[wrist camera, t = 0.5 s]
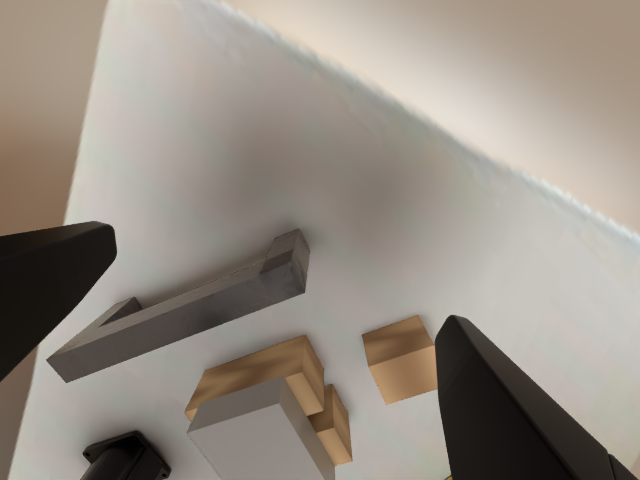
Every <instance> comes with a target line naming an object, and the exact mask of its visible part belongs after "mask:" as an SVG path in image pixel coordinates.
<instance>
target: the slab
mask: <svg viewBox="0 0 640 480" xmlns="http://www.w3.org/2000/svg"><path fill="white" fill-rule="evenodd" d="M187 434H188V436H189V437H190V438H191V440H192V441H193V442H194V444H195V445H196V446H197V448H198V449H199V450H200V452H201V453H202V454H203V456H204V457H205V458H206V460H207V461H208V462H209V464H210V465H211V466H212V468H213V469H214V470H215V471H216V473H217V474H218V475H219V477H220V478H221V479H222V480H335V465H334V463H333V462H332V460H331V458H330V456H329V455H328V453H327V451H326V449H325V448H324V446H323V444H322V442H321V441H320V439H319V437H318V435H317V434H316V432H315V430H314V428H313V427H312V425H311V423H310V421H309V420H308V418H307V416H306V414H305V413H304V411H303V409H302V407H301V406H300V404H299V402H298V400H297V399H296V397H295V395H294V393H293V392H292V390H291V388H290V386H289V385H288V383H287V381H286V379H285V377H284V376H281V377H278V378H275V379H272V380H269V381H266V382H263V383H260V384H257V385H254V386H251V387H248V388H245V389H242V390H239V391H236V392H233V393H230V394H227V395H224V396H221V397H218V398H215V399H212V400H209V401H206V402H203V403H200V405H199V407H198V409H197V411H196V414H195V416H194V418H193V420H192V422H191V424H190V426H189V429H188V431H187Z"/></svg>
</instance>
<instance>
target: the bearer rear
mask: <svg viewBox="0 0 640 480" xmlns="http://www.w3.org/2000/svg"><path fill="white" fill-rule="evenodd" d="M307 418H308V420H309V421H310V423H311V425H312V427H313V428H314V430H315V432H316V434H317V435H318V437H319V439H320V441H321V442H322V444H323V446H324V448H325V449H326V451H327V453H328V455H329V456H330V458H331V460H332V462H333V463H334V465H335V466H337V465H340V464H344V463H347V462H351V461H352V450H351V439H350V428H349V417H348V413H347V411H346V409H345V407H344V405H343V404H342V402H341V400H340V398H339V396H338V394H337V392H336V390H335V388H334V387H333V385H332V384H331V385H328V386H325V387H324V411H321V412H318V413H315V414H312V415H308V416H307Z"/></svg>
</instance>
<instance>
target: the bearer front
mask: <svg viewBox="0 0 640 480" xmlns="http://www.w3.org/2000/svg"><path fill="white" fill-rule="evenodd" d="M281 376H284V377H285V379H286V381H287V383H288V385H289V386H290V388H291V390H292V392H293V393H294V395H295V397H296V399H297V400H298V402H299V404H300V406H301V407H302V409H303V411H304V413H305V414H306V416H308V415H312V414H315V413H318V412H321V411H324V368H323V367H322V365H321V363H320V361H319V359H318V357H317V355H316V353H315V351H314V350H313V348H312V346H311V344H310V342H309V340H308V338H307V336H306V335H303V336H300V337H297V338H294V339H291V340H289V341H286V342H283V343H280V344H278V345H275V346H272V347H269V348H267V349H264V350H261V351H258V352H256V353H253V354H250V355H247V356H244V357H242V358H239V359H236V360H233V361H231V362H228V363H225V364H222V365H220V366H217V367H214V368H211V369H208V370H206V371H205V372H204V374H203V376H202V378H201V380H200V382H199V384H198V386H197V388H196V390H195V392H194V394H193V396H192V398H191V400H190V402H189V404H188V406H187V408H186V410H185V412H184V413H185V414H186V415H187V417H188V418H189V419H190V421H191V422H192V420H193V418H194V416H195V414H196V411H197V409H198V407H199V405H200V403H203V402H206V401H209V400H212V399H215V398H218V397H221V396H224V395H227V394H230V393H233V392H236V391H239V390H242V389H245V388H248V387H251V386H254V385H257V384H260V383H263V382H266V381H269V380H272V379H275V378H278V377H281Z"/></svg>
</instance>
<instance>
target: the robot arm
mask: <svg viewBox="0 0 640 480" xmlns="http://www.w3.org/2000/svg"><path fill="white" fill-rule="evenodd" d="M116 255H117V247H116V239H115V231H114V228H113V227H112V226H111V225H109V224H105V223H101V222H98V221H91V222H85V223H78V224H72V225H66V226H60V227H54V228H48V229H42V230H36V231H29V232H23V233H17V234H11V235H5V236H0V382H1V381H2V380H3V379H4V378H5V377H6V376H7V375H8V374H9V373H10V372H11V371H12V370H13V369H14V368H15V367H16V366H17V365H18V364H19V363H20V362H21V361H22V360H23V359H24V358H25V357H26V356H27V355H28V354H29V353H30V352H31V351H32V350H33V349H34V348H35V347H36V346H37V345H38V344H39V343H40V342H41V341H42V340H43V339H44V338H45V337H46V336H47V335H48V334H49V333H50V332H51V331H52V330H53V329H54V328H55V327H56V326H57V325H58V324H59V323H60V322H61V321H62V320H63V319H64V318H65V317H66V316H67V315H68V314H69V313H70V312H71V311H72V310H73V309H74V308H75V307H76V306H77V305H78V304H79V303H80V301H81V300H82V299H83V298H84V297H85V295H86V294H87V293H88V292H89V291H90V289H91V288H92V287H93V286H94V285H95V283H96V282H97V281H98V280H99V278H100V277H101V276H102V275H103V274H104V272H105V271H106V270H107V269H108V268H109V266H110V265H111V264H112V263H113V261H114V260H115V258H116ZM435 357H436V372H437V387H438V399H439V406H440V413H441V418H442V424H443V430H444V436H445V441H446V447H447V453H448V458H449V464H450V470H451V476H452V480H638V479H637V478H636V477H635V476H634V475H633V474H632V473H631V472H630V471H629V470H628V469H627V468H626V467H624V466H623V465H622V464H621V463H620V462H619V461H618V460H617V459H616V458H615V457H614V456H613V455H611V454H608V452H607V450H606V449H605V448H604V447H603V446H602V445H601V444H600V443H599V442H598V441H597V440H596V439H595V438H594V437H593V436H591V435H590V434H589V433H588V432H587V431H586V430H585V429H584V428H583V427H582V426H581V425H580V424H579V423H578V422H577V421H576V420H574V419H573V418H572V417H571V416H570V415H569V414H568V413H567V412H566V411H565V410H564V409H563V408H562V407H561V406H560V405H559V404H557V403H556V402H555V401H554V400H553V399H552V398H551V397H550V396H549V395H548V394H547V393H546V392H545V391H544V390H543V389H542V388H540V387H539V386H538V385H537V384H536V383H535V382H534V381H533V380H532V379H531V378H530V377H529V376H528V375H527V374H526V373H525V372H523V371H522V370H521V369H520V368H519V367H518V366H517V365H516V364H515V363H514V362H513V361H512V360H511V359H510V358H509V357H508V356H506V355H505V354H504V353H503V352H502V351H501V350H500V349H499V348H498V347H497V346H496V345H495V344H494V343H493V342H492V341H491V340H489V339H488V338H487V337H486V336H485V335H484V334H483V333H482V332H481V331H480V330H479V329H478V328H477V327H476V326H475V325H474V324H472V323H471V322H470V321H469V320H468V319H467V318H464V317H460V316H456V315H450V316H449V317H448V318H447V319H446V321H445V322H444V324H443V326H442V327H441V329H440V331H439V332H438V334H437V336H436V339H435ZM83 456H84V457H85V458H86V459H87V460H88V461H89V462H90V463H91V465H90V467H89V468H88V469H87V471H86V472H85V474H84V475H83V476H82V478H81V479H80V480H163V479H166V478H168V477H169V475H170V473H171V470H170V469H169V468H168V467H167V465H166V464H165V463H164V462H163V461H162V460H161V458H160V457H159V456H158V455H157V454H156V452H155V451H154V450H153V449H152V448H151V447H150V445H149V444H148V443H147V442H146V441H145V439H144V438H143V437H142V436H141V435H140V434H139V433H138V432H131V433H128V434H126V435H123V436H120V437H117V438H114V439H111V440H108V441H105V442H102V443H99V444H96V445H93V446H90V447H87V448H86V449H85V450H84V452H83Z"/></svg>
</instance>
